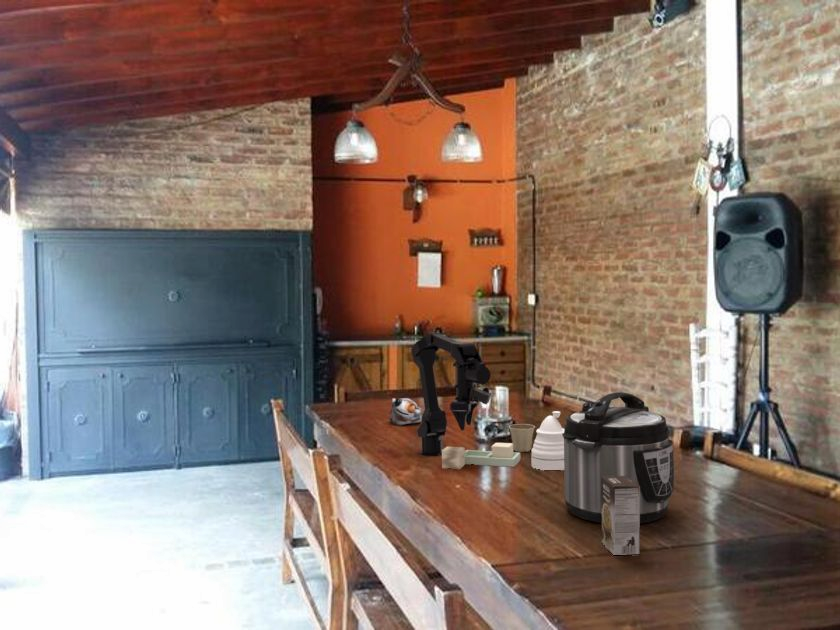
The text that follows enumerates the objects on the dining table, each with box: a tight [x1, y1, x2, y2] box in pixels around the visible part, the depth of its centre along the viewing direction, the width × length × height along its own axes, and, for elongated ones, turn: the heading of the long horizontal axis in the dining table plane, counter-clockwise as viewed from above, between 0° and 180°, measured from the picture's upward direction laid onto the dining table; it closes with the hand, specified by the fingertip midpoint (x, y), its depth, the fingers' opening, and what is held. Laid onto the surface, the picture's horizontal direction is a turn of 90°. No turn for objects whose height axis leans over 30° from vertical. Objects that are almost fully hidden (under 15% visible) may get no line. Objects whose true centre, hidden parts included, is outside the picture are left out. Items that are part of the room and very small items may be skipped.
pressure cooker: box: [562, 391, 675, 524], centre depth 219 cm, size 30×28×32 cm
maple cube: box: [441, 446, 466, 470], centre depth 275 cm, size 6×6×6 cm
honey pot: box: [530, 410, 564, 471], centre depth 272 cm, size 13×13×18 cm
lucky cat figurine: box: [389, 397, 423, 426], centre depth 352 cm, size 15×12×14 cm
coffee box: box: [601, 476, 641, 556], centre depth 191 cm, size 9×6×16 cm
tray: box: [464, 442, 521, 468], centre depth 280 cm, size 19×10×6 cm, turn 71°
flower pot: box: [508, 423, 536, 453], centre depth 297 cm, size 9×9×9 cm
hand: (465, 427), depth 277 cm, fingers open, 9 cm apart
